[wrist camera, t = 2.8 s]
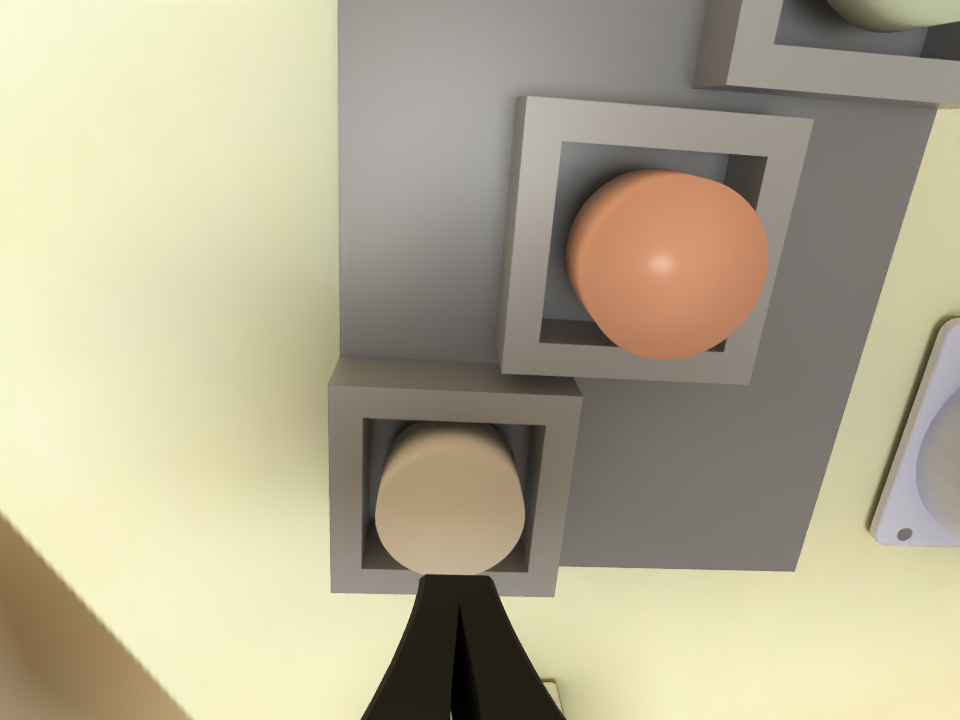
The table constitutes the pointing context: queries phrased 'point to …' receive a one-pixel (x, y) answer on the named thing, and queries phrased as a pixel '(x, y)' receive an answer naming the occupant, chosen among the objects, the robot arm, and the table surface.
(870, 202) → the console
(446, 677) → the robot arm
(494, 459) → the button cream
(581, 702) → the table surface
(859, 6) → the button sage
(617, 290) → the button terracotta
